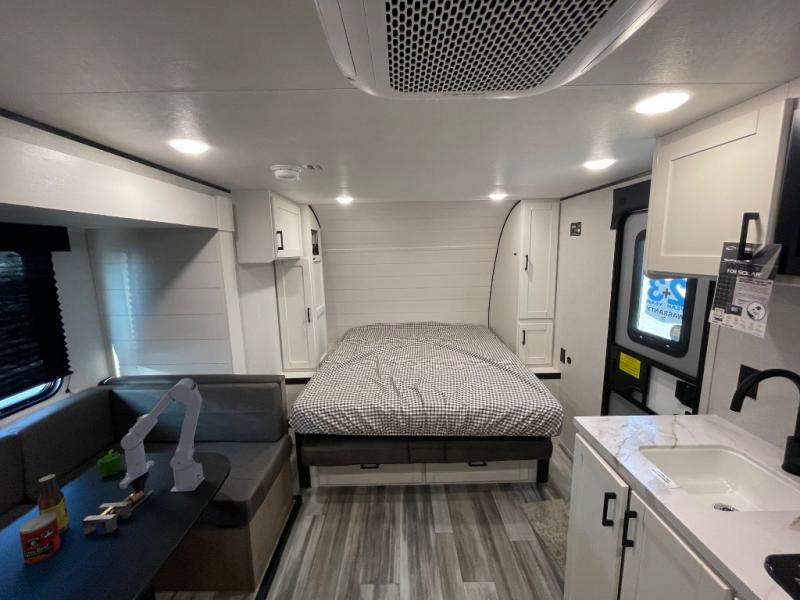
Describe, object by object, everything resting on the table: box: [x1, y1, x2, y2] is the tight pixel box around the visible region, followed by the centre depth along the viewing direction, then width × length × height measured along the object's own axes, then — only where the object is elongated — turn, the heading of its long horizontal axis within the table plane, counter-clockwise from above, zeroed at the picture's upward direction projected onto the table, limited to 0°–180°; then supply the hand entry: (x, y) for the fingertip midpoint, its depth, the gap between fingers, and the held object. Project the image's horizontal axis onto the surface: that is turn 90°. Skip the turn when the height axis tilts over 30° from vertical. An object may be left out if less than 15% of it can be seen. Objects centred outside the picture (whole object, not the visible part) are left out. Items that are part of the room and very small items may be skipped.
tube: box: [112, 490, 144, 518], centre depth 121 cm, size 10×3×3 cm, turn 2°
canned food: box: [19, 513, 61, 565], centre depth 101 cm, size 8×8×11 cm
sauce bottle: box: [37, 473, 70, 535], centre depth 109 cm, size 7×6×20 cm
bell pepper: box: [97, 449, 123, 478], centre depth 143 cm, size 8×8×10 cm
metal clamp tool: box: [82, 489, 154, 535], centre depth 118 cm, size 9×20×5 cm, turn 2°
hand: (140, 493), depth 127 cm, fingers closed
